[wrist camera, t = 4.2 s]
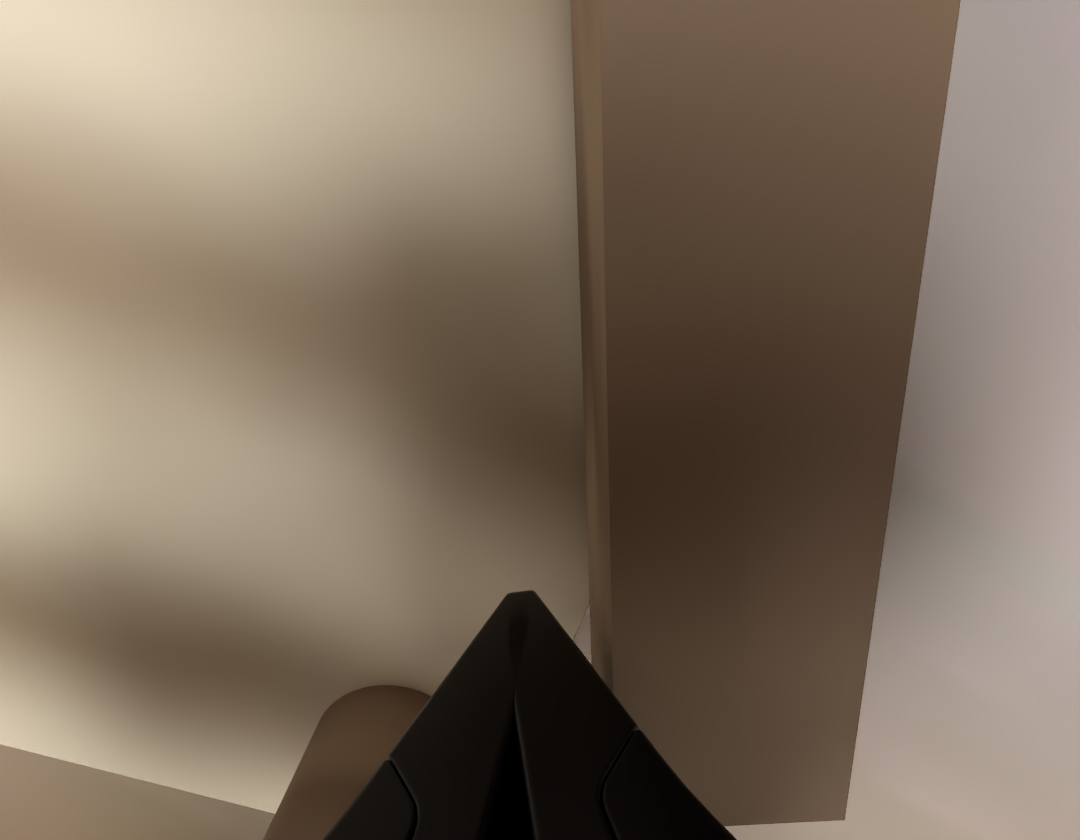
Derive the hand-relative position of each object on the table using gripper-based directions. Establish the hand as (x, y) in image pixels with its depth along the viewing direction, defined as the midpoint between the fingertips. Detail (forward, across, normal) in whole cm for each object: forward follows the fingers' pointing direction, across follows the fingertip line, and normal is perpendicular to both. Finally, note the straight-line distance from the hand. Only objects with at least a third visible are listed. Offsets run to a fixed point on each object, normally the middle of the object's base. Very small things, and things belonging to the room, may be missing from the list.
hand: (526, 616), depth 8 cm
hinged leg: (+1, -3, -4) cm, 5 cm away
